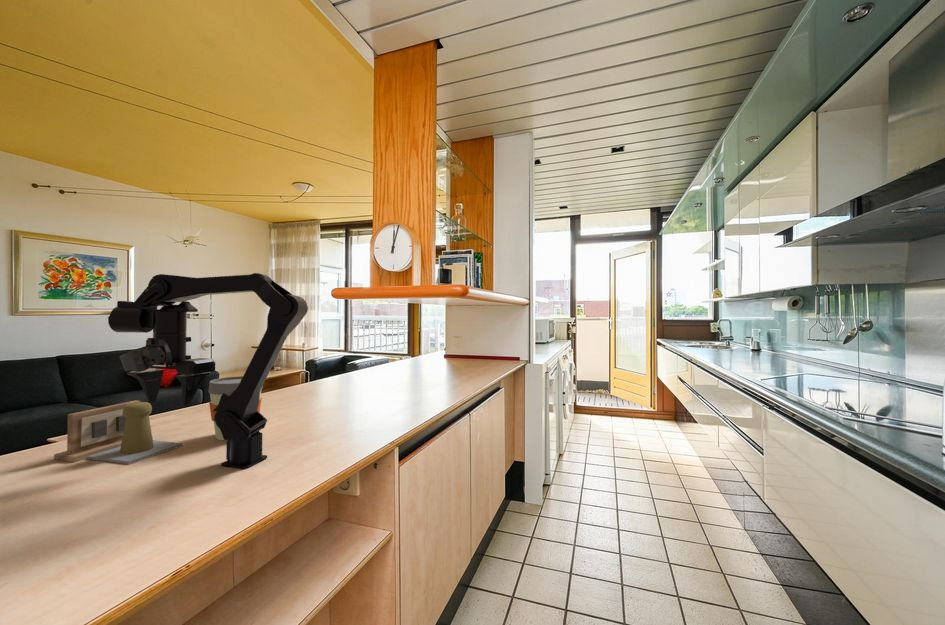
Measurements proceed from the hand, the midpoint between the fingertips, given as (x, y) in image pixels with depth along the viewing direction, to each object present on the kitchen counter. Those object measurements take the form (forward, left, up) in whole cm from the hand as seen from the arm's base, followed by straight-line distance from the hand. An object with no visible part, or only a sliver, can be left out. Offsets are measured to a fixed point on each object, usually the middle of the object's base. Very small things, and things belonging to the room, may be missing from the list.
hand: (168, 404), depth 82 cm
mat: (+14, -4, -13) cm, 20 cm away
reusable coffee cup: (+2, -20, -13) cm, 24 cm away
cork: (+14, -4, -13) cm, 19 cm away
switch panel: (+23, -4, -13) cm, 27 cm away
